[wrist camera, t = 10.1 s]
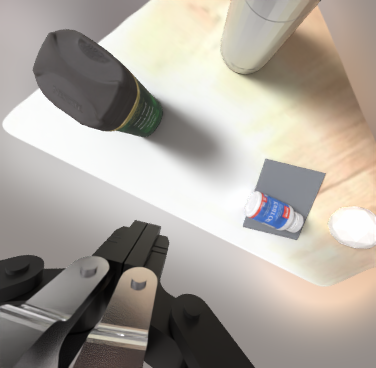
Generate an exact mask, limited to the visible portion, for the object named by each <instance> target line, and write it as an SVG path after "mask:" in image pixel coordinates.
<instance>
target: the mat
mask: <svg viewBox="0 0 376 368" xmlns="http://www.w3.org/2000/svg"><path fill="white" fill-rule="evenodd" d="M325 174H326V173H322V172H318V171H314V170H310V169H306V168H301V167H297V166H293V165H289V164H285V163H281V162H277V161H273V160H269V159H265V162H264V165H263V168H262V171H261V174H260V177H259V180H258V183H257V185H256V188H255V191H254V192H256V191H258V192H261V193H263V194H266V195H268V196H270V197H272V198H275V199H277V200H279V201H282V202H284V203H286V204H288V205H290V206H291V207H292V208H293V210H294V211H295V212H297V213H299V214H301V215H302V217H303V225H304V223H305V220H306V218H307V216H308V213H309V211H310V209H311V206H312V204H313V202H314V199H315V197H316V195H317V192H318V190H319V188H320V185H321V183H322V181H323V178H324V176H325ZM303 225H302V227H303ZM243 227H246V228H250V229H254V230H258V231H262V232H266V233H271V234H275V235H279V236H283V237H287V238H291V239H295V240H297V239H298V237H299V234H300V232H301V230H302V227H301V229H300V230H299V231H297V232H295V233H292V232H289V231H287V230H276V229H274V228H272V227H269V226H267V225H265V224H262V223H260V222H258V221H256V220H253V219H251V218H249V217H247V216H246V218H245V221H244V224H243Z"/></svg>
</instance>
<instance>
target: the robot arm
mask: <svg viewBox="0 0 376 368" xmlns="http://www.w3.org/2000/svg"><path fill="white" fill-rule="evenodd" d="M320 1H321V0H230V5H229V9H228V13H227V18H226V22H225V26H224V30H223V35H222V39H221V54H222V57H223V60H224V61H225V63H226V65H227V66H228V67H229V68H230V69H232V70H233V71H235V72H237V73H241V74H250V73H253V72H256V71H258V70H259V69H261V68H262V67H263V66H264V65H265V64H266V63H267V62H268V61H269V60H270V59H271V57H272V56H273V55H274V54H275V53H276V52H277V51H278V49H279V48H280V47H281V46H282V45H283V44H284V43H285V41H286V40H287V39H288V38H289V37H290V36H291V34H292V33H293V32H294V31H295V30H296V29H297V28H298V26H299V25H300V24H301V23H302V22H303V21H304V19H305V18H306V17H307V16H308V15H309V14H310V13H311V11H312V10H313V9H314V8H315V7H316V6H317V4H318V3H319V2H320ZM160 229H161V226H158V225H154V224H150V223H149V224H148V223H145V222H141V221H137V220H135V221H134V222H133V224H132V225H131V226H130V227H124V226H123V227H121V228H119V229H117V230H116V231H114V233H113V234H112V235H111V236H110V237H109V238H108V239H107V241H105V242H104V243H103V244H102V245H101V246H100V247H99V249H98V250H97V251H96V252H95V253H94V254H93V255H92V256H87V257H83V258H80V259H78V260H76V261H74V262H73V263H72V264H71V265H69V267H67V268H63V269H44V261H43V260H42V259H41V258H40V257H37V256H33V255H23V256H17V257H13V258H9V259H5V260H1V261H0V368H143V363H144V361H145V362H146V363H147V364H149V365H150V366H151V367H153V368H255V367H254V366H253V364H252V363H251V362H250V360H249V359H248V358H247V357H246V355H245V354H244V353H243V351H242V350H241V349H240V347H239V346H238V345H237V343H236V342H235V341H234V339H233V338H232V337H231V335H230V334H229V333H228V331H227V330H226V329H225V327H224V326H223V325H222V324H221V322H220V321H219V320H218V318H217V317H216V316H215V314H214V313H213V312H212V310H211V309H210V308H209V307H208V305H207V304H206V303H205V302H204V301H203V300H202V299H201V298H199V297H198V296H195V295H192V294H183V295H180V296H178V297H177V298H175V297H173V296H171V295H170V294H168V293H167V292H166V291H165V290H164V289H163V287H162V286H161V283H160V278H161V274H162V271H163V267H164V263H165V259H166V255H167V251H168V246H169V240H168V238H167V237H166V236H162V235H159V234H160ZM101 318H102V319H101Z"/></svg>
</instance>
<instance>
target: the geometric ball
mask: <svg viewBox="0 0 376 368" xmlns="http://www.w3.org/2000/svg"><path fill="white" fill-rule="evenodd" d="M328 227H329V230H330V233H331V235H332V236H333V237H334V238H335V239H336V240H337V241H338V242H339V243H341V244H344V245H347V246H350V247H353V248H371V247H373V246H375V245H376V215H375V214H374V213H373V212H371V211H370V210H368V209H364V208H361V207H357V206H351V207H342V208H340V209H338V210H337V211H335V212H334V213H333V214H331V217H330V219H329V221H328Z"/></svg>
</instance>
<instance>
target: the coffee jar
mask: <svg viewBox="0 0 376 368" xmlns="http://www.w3.org/2000/svg"><path fill="white" fill-rule="evenodd" d="M33 72H34V74H35V78H36V81H37V84H38V86H39V88H40V89H41V91H42V93H43V94H44V95H45V96H46V97H47V98H48V99H49V100H50V101H51V102H52V103H53V104H54V105H55V106H56V107H58V108H59V109H61V110H62V111H64V112H65V113H66V114H68V115H69V116H71V117H72V118H74V119H75V120H76V121H78V122H79V123H80V124H82V125H86V126H88V127H90V128H94V129H98V130H101V131H120V132H124V133H129V134H132V135H136V136H141V137H146V136H149V135H151V134H152V133H153V132H154V131H155V129H156V128H157V126H158V125H159V123H160V121H161V119H162V115H163V111H162V107H161V105H160V104H159V102H158V101H157V100H156V99H155V98H154V97H153V96H152V95H151V94H150V93H149V92H148V91H147V89H146V88H145V87H144V86H143V85H142V84H141V83H140V82H139V81H138V80H137V79H136V77H135V76H134V75H133V74H132V73H131V72H130V71H129V70H128V69H127V68H126V67H125V66H124V65H123V64H122V63H121V62H120V61H118V60H117V59H116V58H115V57H114V56H113V55H112V54H111V53H109V52H108V51H107V50H105V49H104V48H103V47H101V46H100V45H99V44H97V43H96V42H94V41H93V40H91V39H89V38H88V37H86V36H85V35H83V34H82V33H80V32H77V31H74V30H67V29H66V30H58V31H55V32H51V33H49V34H48V35H47V37H46V39H45V41H44V42H43V44H42V47H41V48H40V50H39V53H38V55H37V58H36V61H35V63H34V67H33Z"/></svg>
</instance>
